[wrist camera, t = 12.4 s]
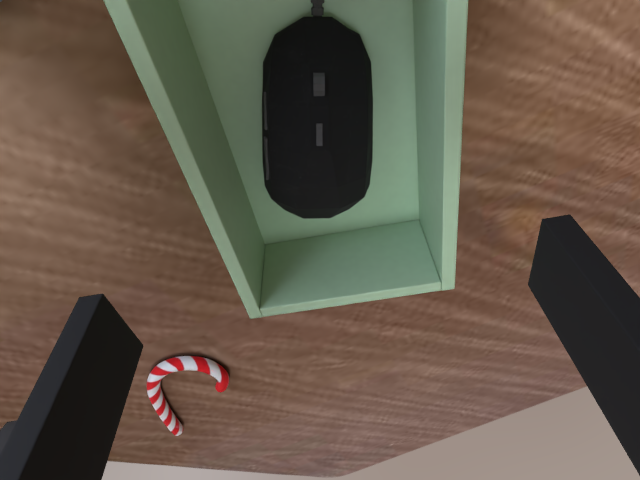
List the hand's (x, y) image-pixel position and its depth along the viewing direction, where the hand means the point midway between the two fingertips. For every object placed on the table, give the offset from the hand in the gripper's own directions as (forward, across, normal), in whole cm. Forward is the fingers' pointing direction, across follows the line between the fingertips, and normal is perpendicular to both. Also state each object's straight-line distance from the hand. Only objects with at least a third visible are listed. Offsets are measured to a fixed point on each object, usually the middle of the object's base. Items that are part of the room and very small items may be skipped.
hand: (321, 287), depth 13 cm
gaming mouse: (+14, 0, 0) cm, 14 cm away
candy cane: (+15, -18, -28) cm, 37 cm away
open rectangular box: (+14, 0, 0) cm, 14 cm away
